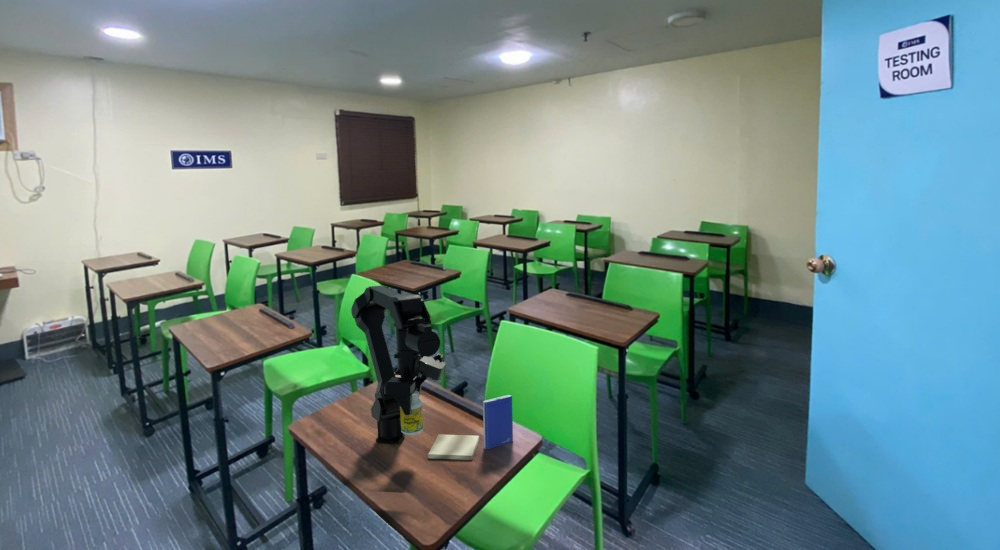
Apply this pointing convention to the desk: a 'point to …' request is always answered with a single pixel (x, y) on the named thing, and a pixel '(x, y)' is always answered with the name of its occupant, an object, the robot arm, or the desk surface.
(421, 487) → the desk surface
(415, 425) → the supplement bottle
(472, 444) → the birch board
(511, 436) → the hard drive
